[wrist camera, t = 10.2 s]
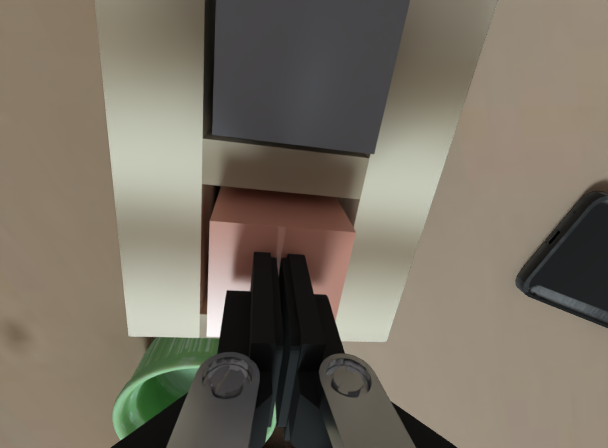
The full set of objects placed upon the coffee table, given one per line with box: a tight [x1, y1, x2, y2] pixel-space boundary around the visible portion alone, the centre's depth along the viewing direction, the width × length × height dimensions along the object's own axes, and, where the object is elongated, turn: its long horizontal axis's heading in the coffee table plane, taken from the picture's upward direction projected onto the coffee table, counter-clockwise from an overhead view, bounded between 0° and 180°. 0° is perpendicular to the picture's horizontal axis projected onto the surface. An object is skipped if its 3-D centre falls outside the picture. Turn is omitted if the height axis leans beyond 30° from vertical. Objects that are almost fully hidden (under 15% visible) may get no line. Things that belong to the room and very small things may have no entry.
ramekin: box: [112, 337, 276, 442], centre depth 21 cm, size 9×9×4 cm
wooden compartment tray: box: [95, 0, 498, 342], centre depth 12 cm, size 22×11×6 cm, turn 172°
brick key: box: [207, 186, 356, 337], centre depth 14 cm, size 4×4×6 cm
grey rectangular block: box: [212, 0, 410, 154], centre depth 11 cm, size 4×4×6 cm
